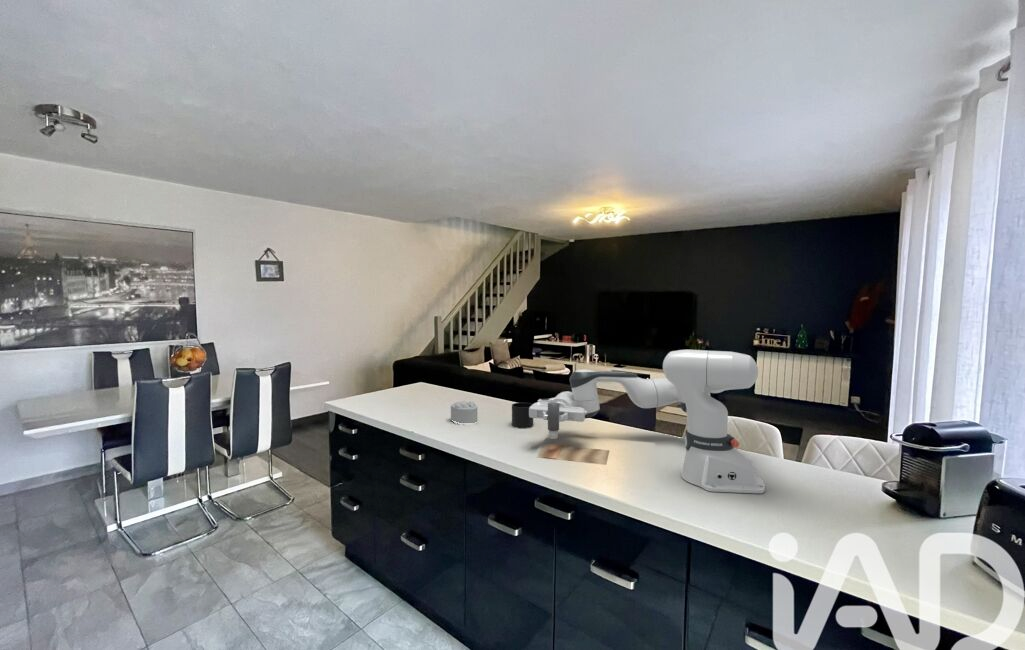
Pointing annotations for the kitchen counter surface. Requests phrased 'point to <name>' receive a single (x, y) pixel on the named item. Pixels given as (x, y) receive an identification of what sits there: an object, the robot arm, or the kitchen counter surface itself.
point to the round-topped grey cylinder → (553, 420)
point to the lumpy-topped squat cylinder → (464, 412)
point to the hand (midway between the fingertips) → (552, 418)
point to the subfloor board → (574, 454)
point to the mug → (521, 415)
